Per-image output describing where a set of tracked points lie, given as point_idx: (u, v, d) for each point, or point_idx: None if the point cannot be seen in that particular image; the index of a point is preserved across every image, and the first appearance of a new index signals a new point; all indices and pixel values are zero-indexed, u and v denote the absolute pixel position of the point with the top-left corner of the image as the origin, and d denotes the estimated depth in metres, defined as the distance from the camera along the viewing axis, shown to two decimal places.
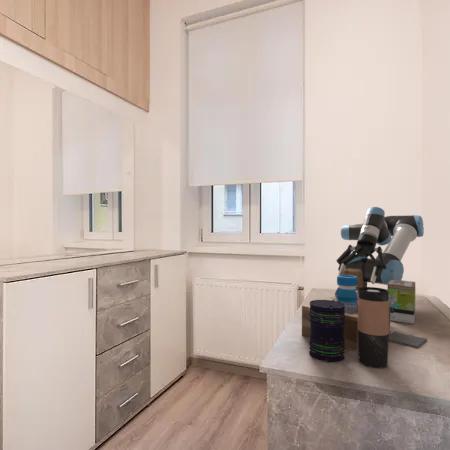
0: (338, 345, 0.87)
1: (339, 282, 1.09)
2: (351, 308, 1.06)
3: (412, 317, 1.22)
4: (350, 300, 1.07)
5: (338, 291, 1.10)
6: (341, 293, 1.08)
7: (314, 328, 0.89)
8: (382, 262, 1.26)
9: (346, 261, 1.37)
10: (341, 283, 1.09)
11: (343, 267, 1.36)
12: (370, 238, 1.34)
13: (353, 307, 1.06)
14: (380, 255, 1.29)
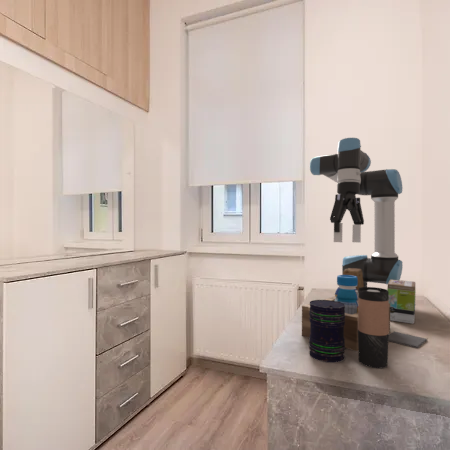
0: (338, 345, 0.87)
1: (339, 282, 1.09)
2: (351, 308, 1.06)
3: (412, 317, 1.22)
4: (350, 300, 1.07)
5: (338, 291, 1.10)
6: (341, 293, 1.08)
7: (314, 328, 0.89)
8: (362, 218, 1.17)
9: None
10: (341, 283, 1.09)
11: None
12: None
13: (353, 307, 1.06)
14: (361, 209, 1.16)
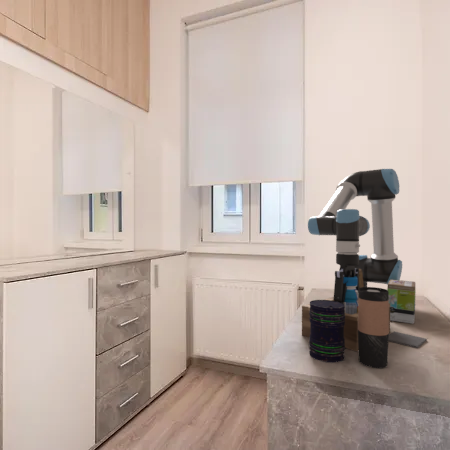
0: (338, 345, 0.87)
1: None
2: (351, 308, 1.06)
3: (412, 317, 1.22)
4: (350, 300, 1.07)
5: None
6: None
7: (314, 328, 0.89)
8: None
9: None
10: None
11: None
12: None
13: (353, 307, 1.06)
14: (358, 281, 1.14)
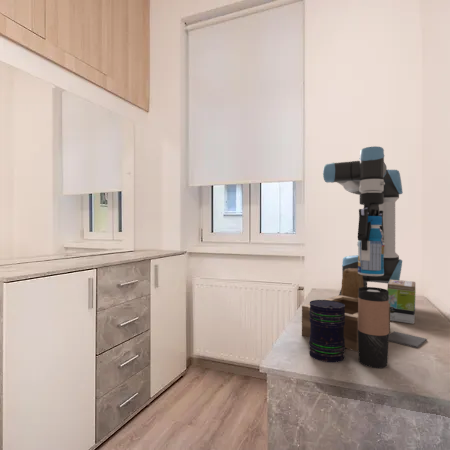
0: (338, 345, 0.87)
1: None
2: (375, 247, 1.04)
3: (412, 317, 1.22)
4: (375, 238, 1.04)
5: None
6: None
7: (314, 328, 0.89)
8: None
9: None
10: None
11: None
12: None
13: (378, 245, 1.04)
14: (382, 223, 1.11)
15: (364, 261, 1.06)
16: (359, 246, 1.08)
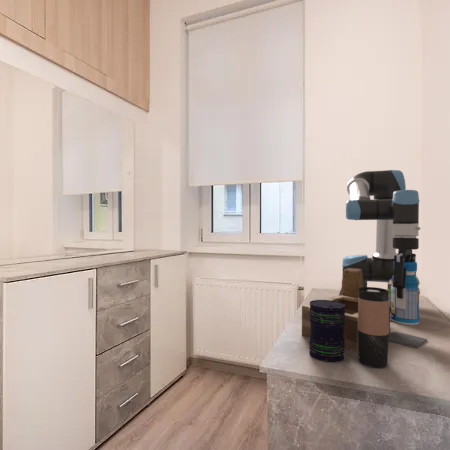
0: (338, 345, 0.87)
1: None
2: (411, 295, 1.00)
3: None
4: (411, 286, 1.00)
5: None
6: None
7: (314, 328, 0.89)
8: None
9: None
10: None
11: None
12: None
13: (414, 293, 1.00)
14: None
15: (399, 309, 1.02)
16: (393, 292, 1.04)
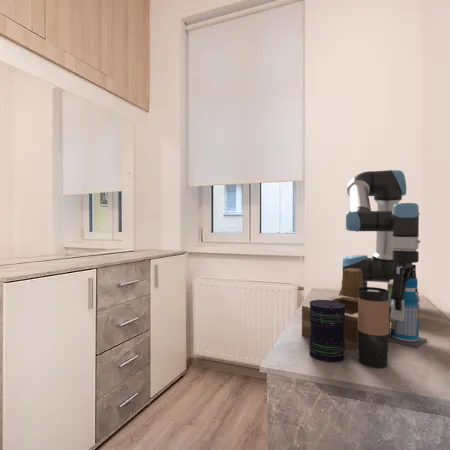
0: (338, 345, 0.87)
1: None
2: (411, 312, 1.00)
3: None
4: (411, 302, 1.01)
5: None
6: None
7: (314, 328, 0.89)
8: None
9: None
10: None
11: None
12: None
13: (414, 310, 1.00)
14: (415, 277, 1.08)
15: (399, 325, 1.02)
16: (393, 308, 1.04)
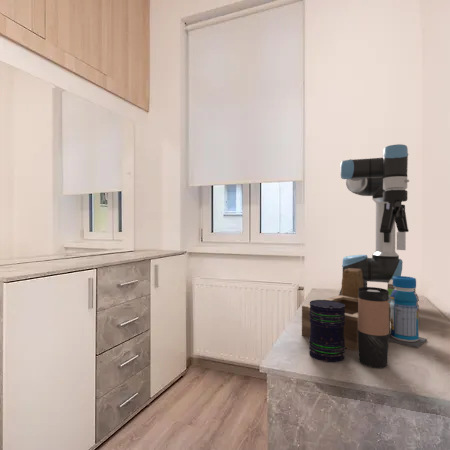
0: (338, 345, 0.87)
1: (396, 284, 1.03)
2: (410, 312, 1.00)
3: None
4: (410, 303, 1.01)
5: (395, 293, 1.04)
6: (399, 296, 1.02)
7: (314, 328, 0.89)
8: (406, 225, 1.16)
9: None
10: (398, 284, 1.03)
11: None
12: None
13: (413, 310, 1.00)
14: (405, 216, 1.14)
15: (398, 325, 1.02)
16: (392, 309, 1.04)
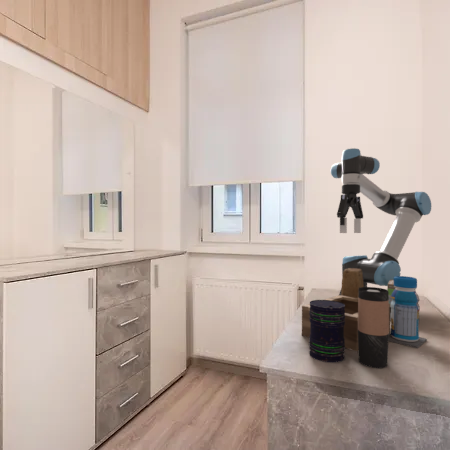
0: (338, 345, 0.87)
1: (397, 284, 1.03)
2: (411, 312, 1.00)
3: None
4: (410, 303, 1.01)
5: (396, 293, 1.04)
6: (400, 296, 1.02)
7: (314, 328, 0.89)
8: (362, 213, 1.44)
9: None
10: (399, 284, 1.03)
11: None
12: None
13: (414, 310, 1.00)
14: (360, 206, 1.43)
15: (398, 325, 1.02)
16: (393, 308, 1.04)
